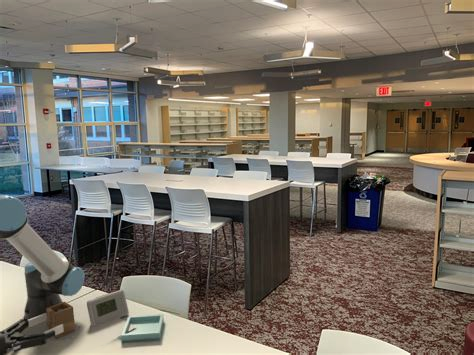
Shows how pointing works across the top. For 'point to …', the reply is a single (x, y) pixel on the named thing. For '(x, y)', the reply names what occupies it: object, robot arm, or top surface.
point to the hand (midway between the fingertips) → (54, 322)
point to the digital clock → (107, 307)
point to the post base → (66, 335)
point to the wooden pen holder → (61, 318)
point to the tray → (143, 328)
